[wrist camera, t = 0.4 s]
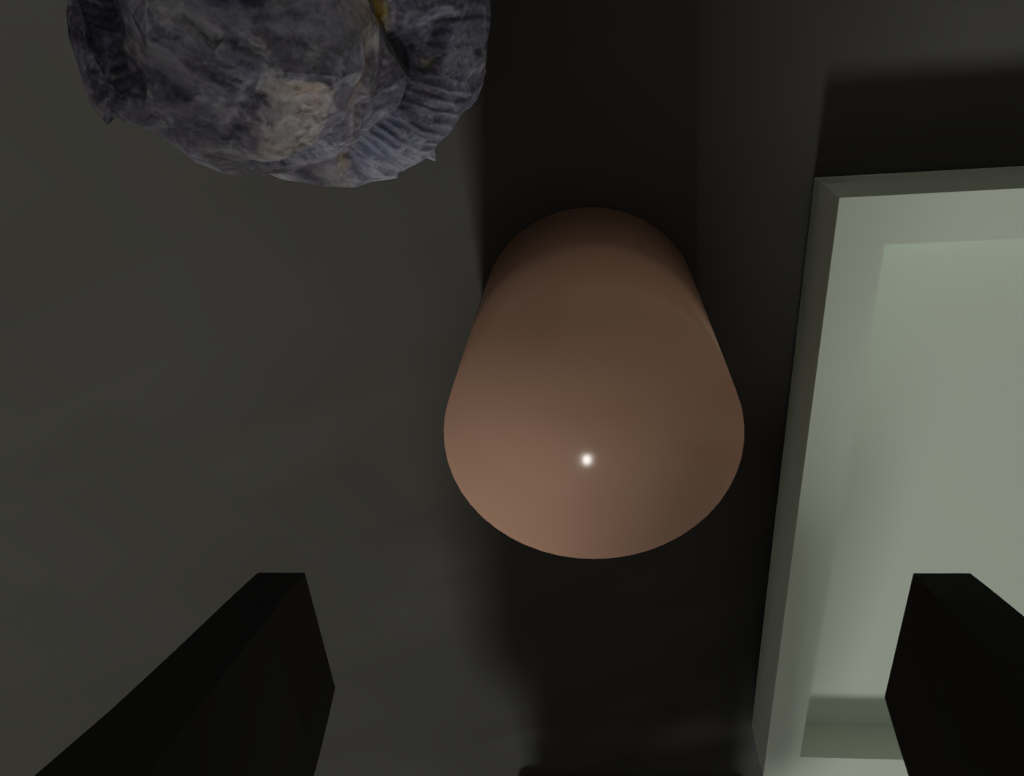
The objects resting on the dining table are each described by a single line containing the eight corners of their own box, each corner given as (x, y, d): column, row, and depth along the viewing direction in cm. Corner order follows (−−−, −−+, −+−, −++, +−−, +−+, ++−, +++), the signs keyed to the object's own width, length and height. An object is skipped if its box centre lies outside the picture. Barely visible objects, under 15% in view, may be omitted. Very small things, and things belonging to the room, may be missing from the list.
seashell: (400, -224, 14) (71, -606, 5) (565, 39, 15) (545, 113, 7) (204, -28, 15) (-296, -43, 7) (372, 187, 17) (158, 398, 8)
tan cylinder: (692, 402, 19) (734, 558, 14) (492, 406, 20) (460, 558, 14) (701, 200, 17) (756, 298, 11) (473, 212, 17) (426, 310, 12)
